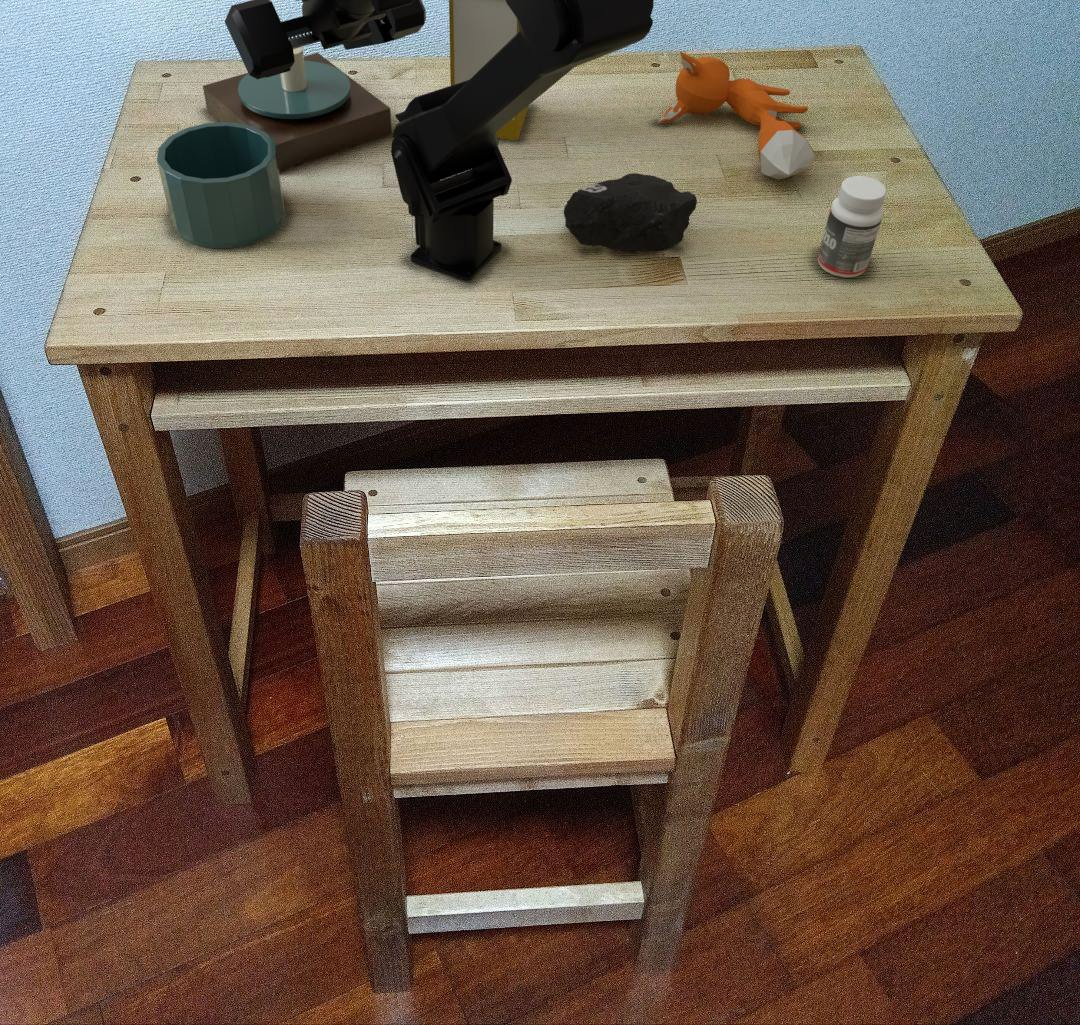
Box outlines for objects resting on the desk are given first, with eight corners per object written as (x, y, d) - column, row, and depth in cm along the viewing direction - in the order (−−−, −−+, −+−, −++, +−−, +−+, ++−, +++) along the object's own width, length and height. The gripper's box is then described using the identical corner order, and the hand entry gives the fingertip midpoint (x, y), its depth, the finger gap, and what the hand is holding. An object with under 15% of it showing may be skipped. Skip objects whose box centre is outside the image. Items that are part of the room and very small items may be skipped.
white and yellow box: (440, 158, 119) (433, -81, 101) (465, 100, 127) (462, -130, 110) (508, 167, 118) (513, -73, 101) (528, 108, 127) (536, -123, 109)
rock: (621, 279, 106) (628, 225, 101) (555, 236, 110) (559, 182, 105) (693, 241, 111) (703, 188, 106) (627, 201, 115) (634, 148, 110)
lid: (372, 104, 120) (368, 56, 116) (273, 136, 115) (266, 87, 111) (316, 61, 126) (310, 14, 122) (220, 89, 121) (211, 41, 117)
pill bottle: (813, 248, 110) (833, 171, 104) (862, 251, 110) (885, 174, 104) (820, 277, 107) (841, 199, 101) (870, 280, 107) (894, 202, 101)
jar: (301, 196, 113) (292, 131, 108) (259, 257, 106) (247, 190, 101) (201, 179, 114) (188, 114, 109) (153, 238, 107) (136, 171, 102)
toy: (779, 42, 128) (662, 31, 123) (879, 142, 114) (751, 134, 109) (754, 110, 134) (641, 102, 128) (846, 213, 120) (723, 209, 114)
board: (392, 134, 122) (390, 108, 119) (275, 173, 116) (271, 146, 113) (320, 77, 129) (317, 52, 127) (207, 111, 123) (202, 85, 121)
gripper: (403, -127, 103) (350, -43, 117) (215, -86, 95) (182, 0, 109) (455, -8, 105) (396, 61, 119) (274, 42, 97) (234, 111, 111)
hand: (305, 56), depth 114 cm, fingers open, 9 cm apart
